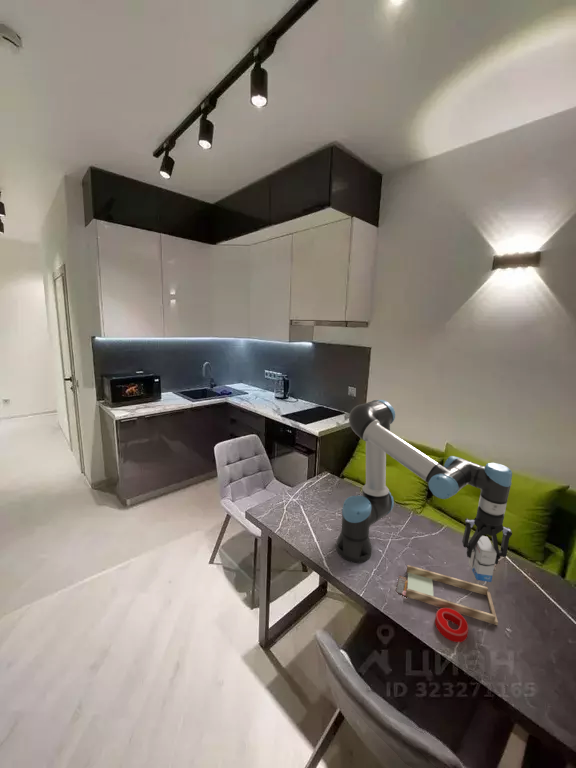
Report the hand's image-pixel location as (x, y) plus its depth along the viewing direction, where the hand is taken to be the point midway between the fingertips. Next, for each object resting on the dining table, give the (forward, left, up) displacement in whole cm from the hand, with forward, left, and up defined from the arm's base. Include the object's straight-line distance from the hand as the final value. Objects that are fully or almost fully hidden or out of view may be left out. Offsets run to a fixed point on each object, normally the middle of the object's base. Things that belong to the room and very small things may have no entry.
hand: (480, 567), depth 111 cm
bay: (-9, 0, -16) cm, 18 cm away
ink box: (0, 0, -2) cm, 2 cm away
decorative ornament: (-8, -13, -16) cm, 22 cm away
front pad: (-18, 0, -16) cm, 24 cm away
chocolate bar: (-24, -2, -16) cm, 29 cm away
